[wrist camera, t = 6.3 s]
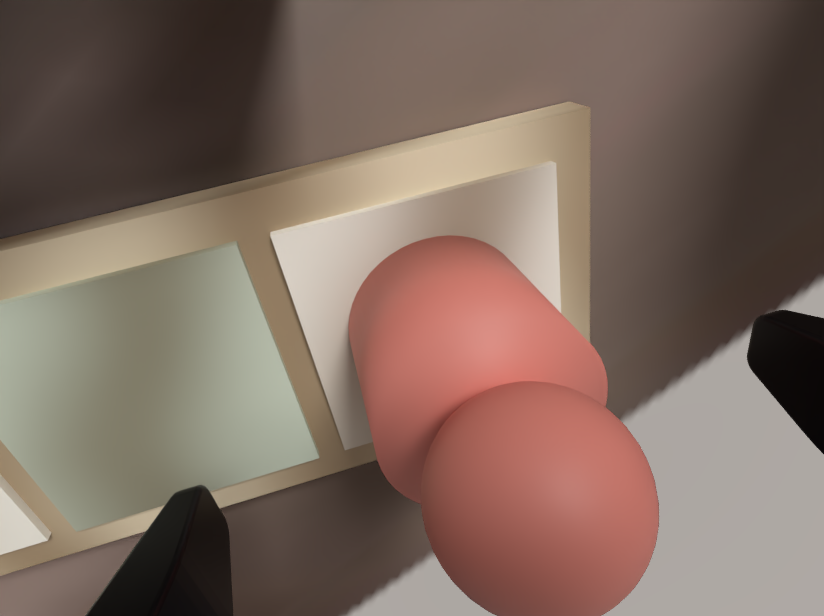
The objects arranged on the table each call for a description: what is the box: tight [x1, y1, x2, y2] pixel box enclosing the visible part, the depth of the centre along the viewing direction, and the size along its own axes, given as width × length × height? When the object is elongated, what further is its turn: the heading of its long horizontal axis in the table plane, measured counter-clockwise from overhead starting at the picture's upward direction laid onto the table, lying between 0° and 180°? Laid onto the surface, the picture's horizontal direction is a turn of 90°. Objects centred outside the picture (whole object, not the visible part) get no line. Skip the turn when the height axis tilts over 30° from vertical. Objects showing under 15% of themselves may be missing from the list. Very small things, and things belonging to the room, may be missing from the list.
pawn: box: [348, 235, 659, 616], centre depth 8 cm, size 4×4×6 cm
